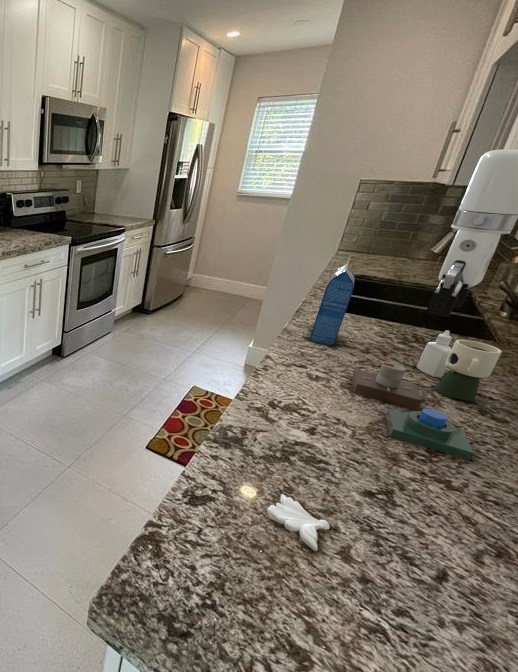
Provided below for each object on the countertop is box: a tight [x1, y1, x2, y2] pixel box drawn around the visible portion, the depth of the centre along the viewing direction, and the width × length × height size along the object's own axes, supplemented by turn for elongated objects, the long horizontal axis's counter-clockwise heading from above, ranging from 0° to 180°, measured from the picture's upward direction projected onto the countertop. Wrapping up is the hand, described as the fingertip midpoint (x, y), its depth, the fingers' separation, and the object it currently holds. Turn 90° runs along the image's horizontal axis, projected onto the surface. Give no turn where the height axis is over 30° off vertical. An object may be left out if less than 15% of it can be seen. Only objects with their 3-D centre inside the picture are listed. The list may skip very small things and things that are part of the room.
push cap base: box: [384, 408, 475, 461], centre depth 79 cm, size 11×9×4 cm
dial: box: [376, 361, 407, 388], centre depth 93 cm, size 4×4×5 cm
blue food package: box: [308, 256, 356, 347], centre depth 120 cm, size 6×12×25 cm, turn 140°
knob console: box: [351, 368, 423, 411], centre depth 94 cm, size 11×9×3 cm
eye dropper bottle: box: [416, 329, 453, 378], centre depth 103 cm, size 4×6×12 cm
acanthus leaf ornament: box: [266, 493, 331, 552], centre depth 59 cm, size 8×7×2 cm
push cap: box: [418, 408, 449, 428], centre depth 78 cm, size 4×4×2 cm
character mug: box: [436, 339, 503, 402], centre depth 93 cm, size 11×7×13 cm, turn 136°
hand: (443, 310), depth 81 cm, fingers open, 9 cm apart
